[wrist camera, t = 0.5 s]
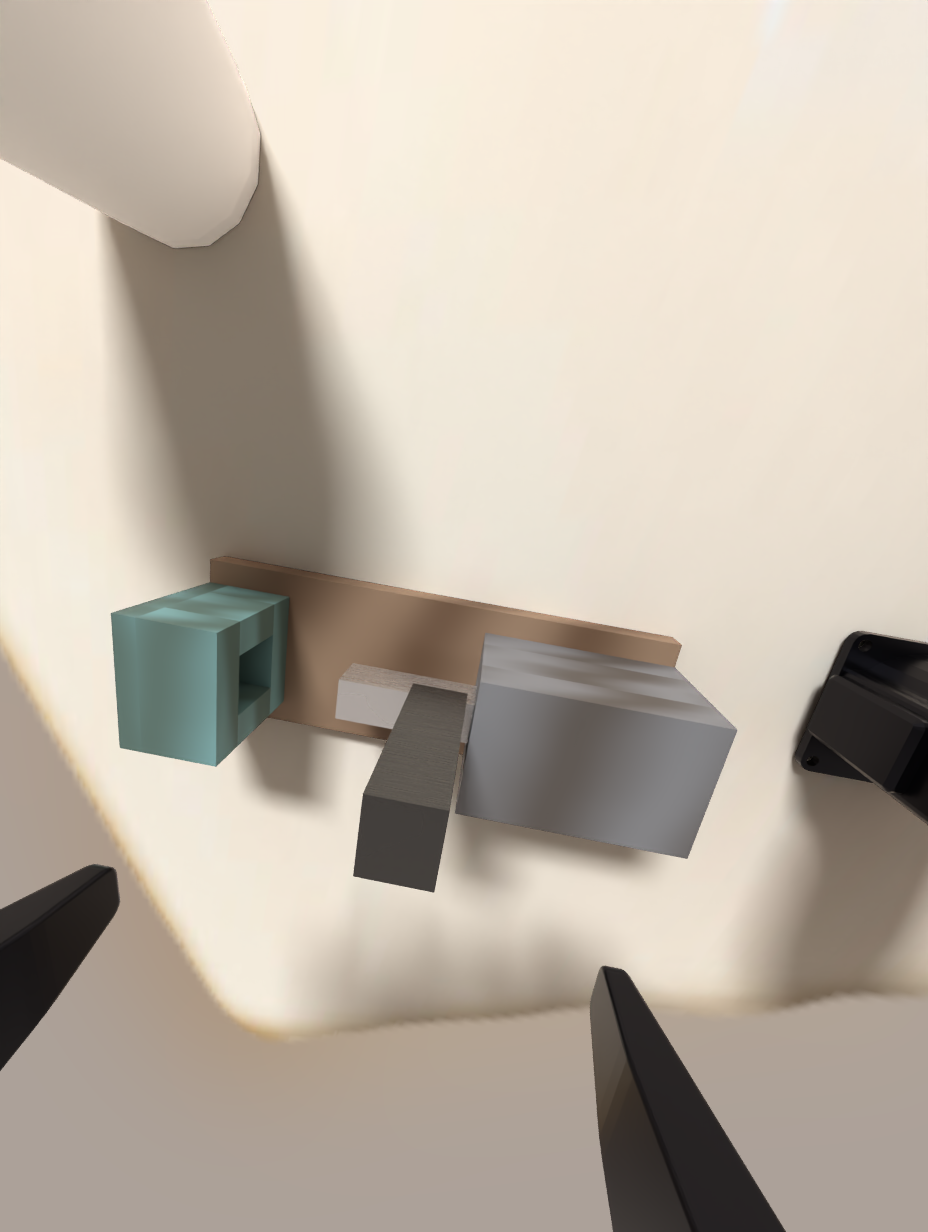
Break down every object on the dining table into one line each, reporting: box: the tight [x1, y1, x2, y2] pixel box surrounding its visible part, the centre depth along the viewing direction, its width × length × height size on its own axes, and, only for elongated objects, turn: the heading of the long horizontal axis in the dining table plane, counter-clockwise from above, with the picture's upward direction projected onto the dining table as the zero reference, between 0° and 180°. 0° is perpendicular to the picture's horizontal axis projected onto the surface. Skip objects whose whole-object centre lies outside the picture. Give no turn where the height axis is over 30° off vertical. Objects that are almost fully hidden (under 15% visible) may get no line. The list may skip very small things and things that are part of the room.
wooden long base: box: [111, 556, 737, 859], centre depth 17 cm, size 20×7×6 cm, turn 80°
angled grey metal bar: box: [335, 663, 477, 892], centre depth 14 cm, size 13×2×8 cm, turn 80°
